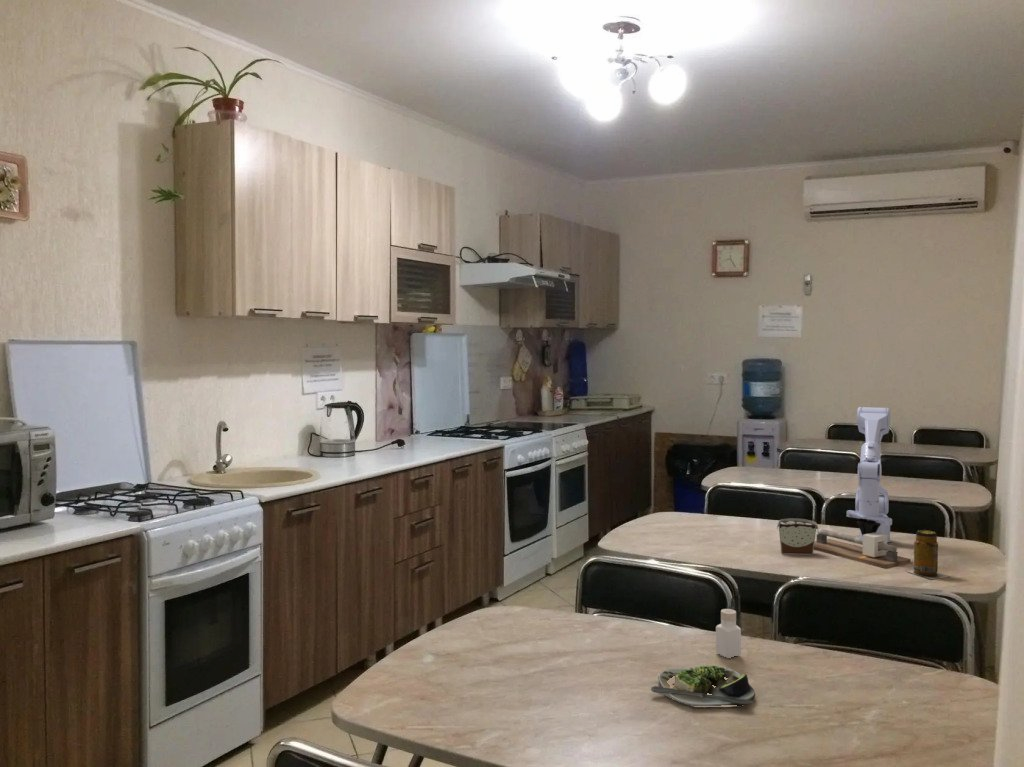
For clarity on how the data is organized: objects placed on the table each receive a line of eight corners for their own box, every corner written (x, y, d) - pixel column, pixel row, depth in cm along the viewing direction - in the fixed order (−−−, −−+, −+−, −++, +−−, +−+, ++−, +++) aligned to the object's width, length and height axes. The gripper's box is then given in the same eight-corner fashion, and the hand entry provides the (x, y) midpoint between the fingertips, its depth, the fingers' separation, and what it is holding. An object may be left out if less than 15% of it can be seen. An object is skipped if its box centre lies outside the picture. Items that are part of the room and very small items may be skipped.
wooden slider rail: (828, 541, 269) (829, 525, 269) (910, 562, 244) (910, 544, 244) (803, 546, 263) (804, 529, 263) (884, 568, 238) (885, 549, 238)
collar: (875, 551, 251) (875, 532, 251) (886, 554, 248) (887, 534, 247) (862, 554, 248) (862, 534, 248) (874, 557, 245) (874, 537, 244)
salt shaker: (727, 660, 172) (727, 615, 171) (714, 653, 175) (714, 609, 175) (742, 656, 174) (742, 612, 173) (728, 650, 177) (729, 607, 177)
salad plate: (662, 718, 147) (663, 692, 146) (638, 677, 164) (638, 654, 164) (767, 712, 149) (767, 687, 148) (732, 672, 166) (732, 650, 166)
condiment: (925, 569, 237) (926, 528, 237) (950, 577, 229) (951, 534, 229) (905, 571, 235) (906, 530, 234) (930, 580, 227) (930, 537, 226)
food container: (813, 549, 260) (813, 518, 259) (817, 554, 254) (818, 522, 253) (772, 548, 261) (773, 517, 261) (776, 553, 255) (777, 522, 254)
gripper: (840, 497, 256) (839, 540, 257) (881, 505, 244) (881, 551, 244) (855, 495, 260) (854, 537, 260) (896, 503, 247) (895, 547, 248)
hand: (868, 544), depth 253 cm, fingers closed
